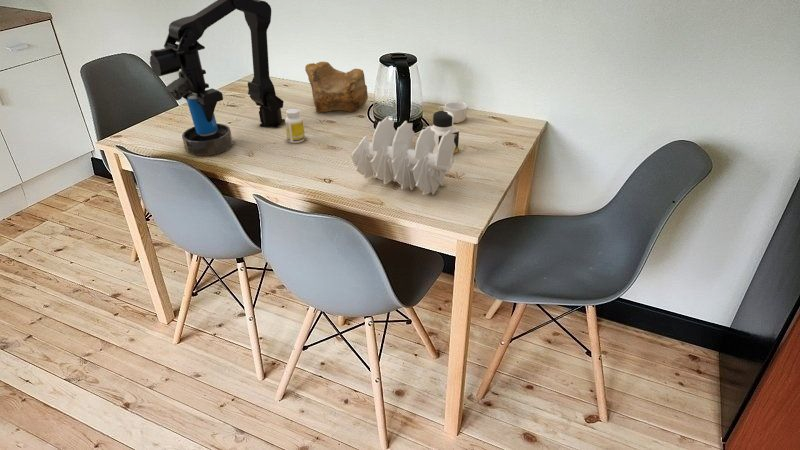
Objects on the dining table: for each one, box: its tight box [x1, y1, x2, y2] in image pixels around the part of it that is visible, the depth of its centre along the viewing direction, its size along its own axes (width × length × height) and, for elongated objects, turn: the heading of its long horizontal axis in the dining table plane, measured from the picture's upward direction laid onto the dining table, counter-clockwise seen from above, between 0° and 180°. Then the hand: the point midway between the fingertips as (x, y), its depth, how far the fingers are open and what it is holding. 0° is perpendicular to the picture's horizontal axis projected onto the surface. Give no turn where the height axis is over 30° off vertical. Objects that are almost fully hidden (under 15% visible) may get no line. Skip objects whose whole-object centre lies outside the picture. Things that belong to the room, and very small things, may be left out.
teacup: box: [438, 101, 469, 124], centre depth 181 cm, size 10×8×5 cm
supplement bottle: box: [284, 108, 306, 144], centre depth 168 cm, size 5×5×10 cm
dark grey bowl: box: [181, 122, 234, 156], centre depth 166 cm, size 14×14×5 cm
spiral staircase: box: [350, 116, 456, 196], centre depth 141 cm, size 18×18×25 cm
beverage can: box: [186, 94, 218, 136], centre depth 161 cm, size 6×6×12 cm
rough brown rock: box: [304, 61, 369, 113], centre depth 189 cm, size 23×17×15 cm
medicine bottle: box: [430, 110, 460, 154], centre depth 159 cm, size 7×7×12 cm
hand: (203, 118), depth 162 cm, fingers closed on beverage can, 6 cm apart
